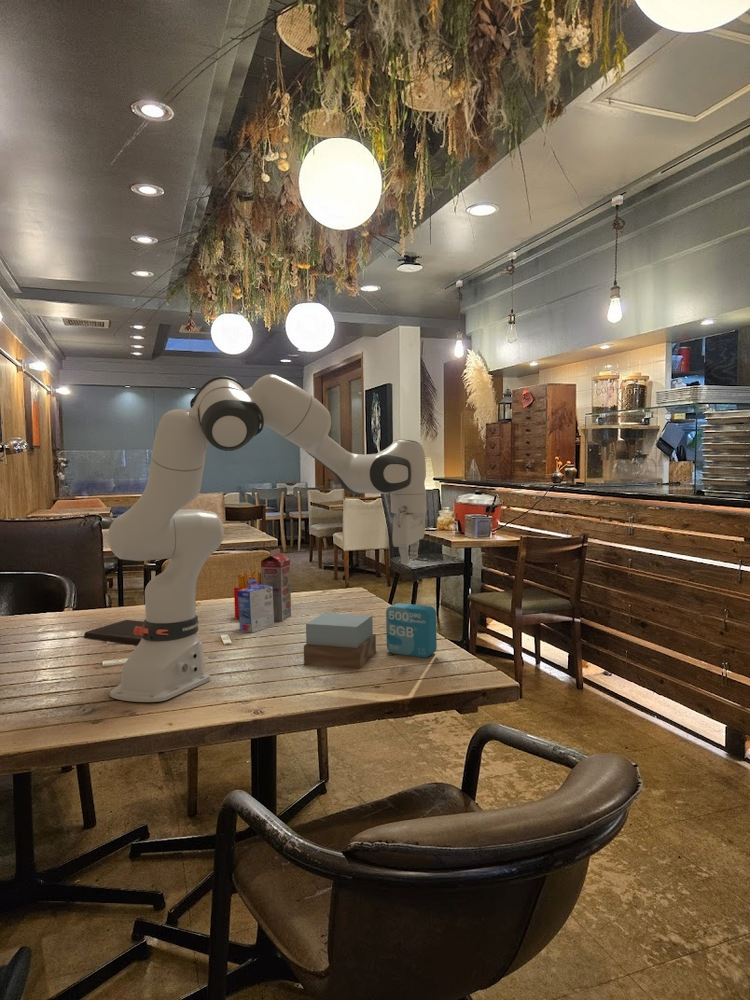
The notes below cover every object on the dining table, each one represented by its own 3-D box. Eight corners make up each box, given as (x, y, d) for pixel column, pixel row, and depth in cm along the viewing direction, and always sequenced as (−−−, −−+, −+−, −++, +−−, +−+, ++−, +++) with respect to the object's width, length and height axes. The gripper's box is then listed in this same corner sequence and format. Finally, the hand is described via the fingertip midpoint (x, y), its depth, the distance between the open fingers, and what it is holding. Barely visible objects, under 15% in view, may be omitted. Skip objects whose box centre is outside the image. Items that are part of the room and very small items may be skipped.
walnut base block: (359, 670, 152) (359, 649, 152) (304, 666, 156) (303, 645, 156) (375, 653, 166) (375, 634, 166) (324, 650, 170) (323, 631, 169)
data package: (386, 652, 165) (385, 605, 164) (394, 648, 169) (393, 602, 168) (429, 658, 159) (428, 610, 158) (437, 653, 163) (436, 606, 162)
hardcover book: (126, 627, 198) (126, 619, 198) (186, 633, 189) (186, 626, 189) (84, 640, 184) (83, 632, 184) (147, 648, 175) (146, 639, 175)
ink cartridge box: (261, 623, 197) (260, 576, 196) (275, 626, 194) (273, 578, 193) (237, 631, 189) (236, 581, 188) (251, 633, 186) (250, 583, 185)
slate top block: (357, 647, 153) (356, 627, 153) (306, 644, 157) (305, 623, 157) (372, 635, 165) (372, 615, 164) (325, 631, 169) (324, 612, 168)
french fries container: (233, 619, 203) (232, 575, 202) (254, 613, 211) (253, 571, 210) (249, 622, 199) (248, 577, 198) (270, 616, 207) (269, 572, 206)
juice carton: (262, 621, 200) (260, 550, 199) (272, 616, 207) (270, 547, 205) (282, 622, 198) (280, 551, 197) (291, 617, 205) (289, 548, 203)
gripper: (411, 508, 150) (412, 567, 151) (429, 503, 170) (430, 555, 171) (385, 508, 152) (386, 566, 153) (405, 503, 172) (406, 555, 172)
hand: (409, 560), depth 162 cm, fingers open, 8 cm apart
